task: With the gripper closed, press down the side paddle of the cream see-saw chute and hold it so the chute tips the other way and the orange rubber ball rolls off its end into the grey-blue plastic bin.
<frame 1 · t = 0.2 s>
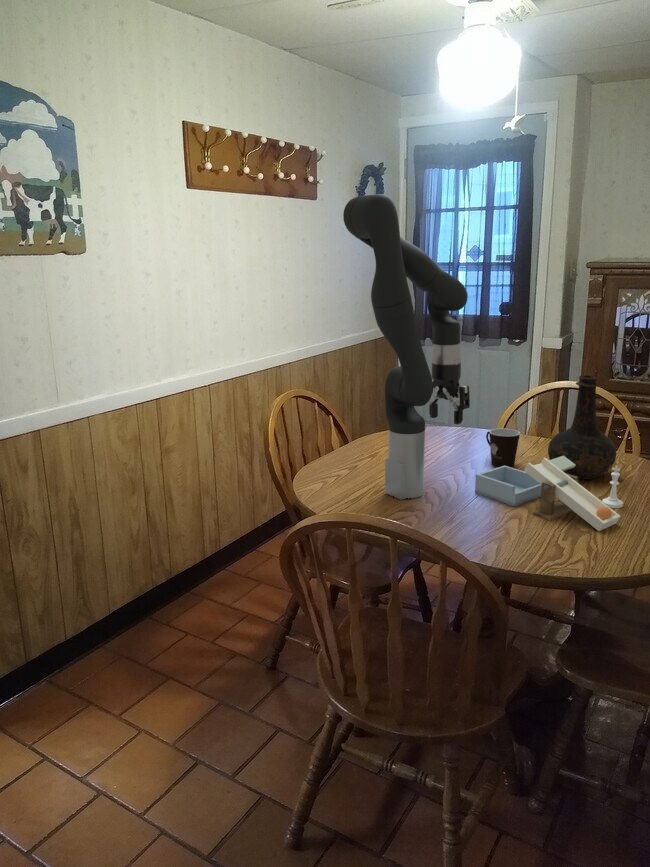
hand: (445, 420, 177), 17 cm above the table, tool pointing down, fingers open, 8 cm apart
stand: (557, 510, 161), on the table
lever: (581, 488, 160), point 6 cm above the table, hinge at -23.0°, touching ball
coffee mug: (501, 464, 197), on the table
ball: (603, 513, 151), point 3 cm above the table, tilted 9°, touching lever
glass bottle: (579, 474, 186), on the table
chess piece: (612, 505, 164), on the table
bin: (508, 494, 172), on the table
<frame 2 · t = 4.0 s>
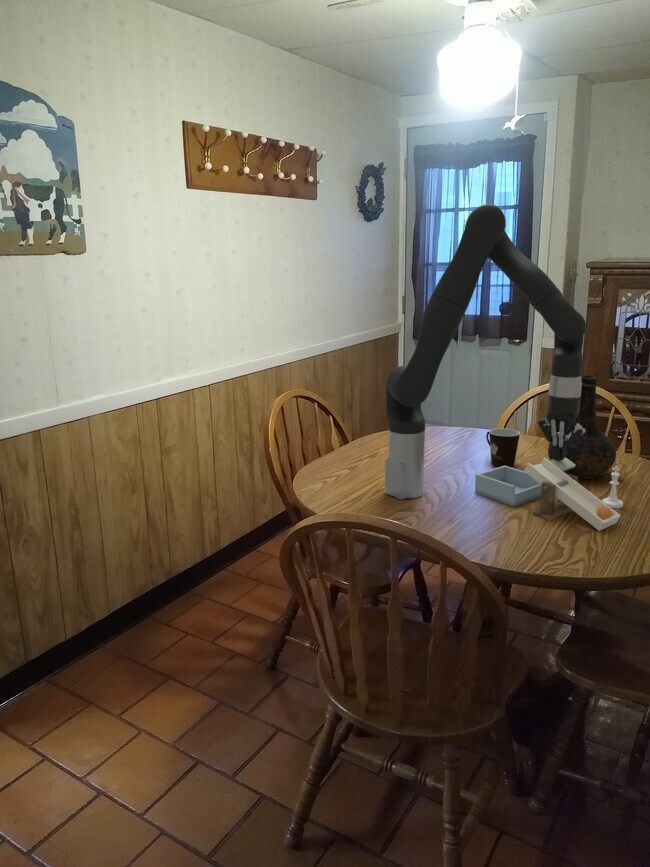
hand: (559, 459, 169), 9 cm above the table, tool pointing down, fingers closed
lever: (581, 488, 160), point 6 cm above the table, hinge at -22.6°, touching ball, gripper
everything else where it was.
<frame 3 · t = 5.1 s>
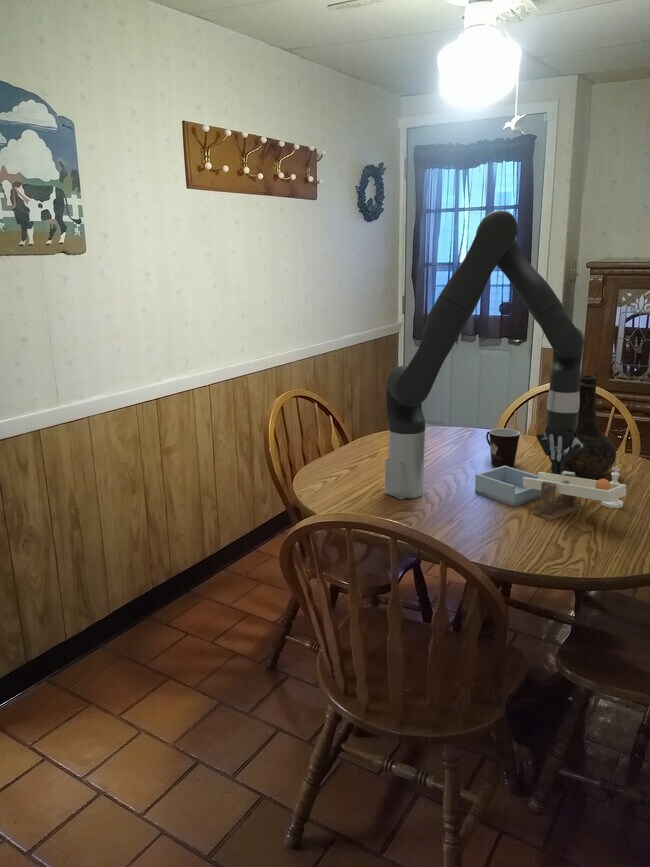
hand: (557, 473, 170), 6 cm above the table, tool pointing down, fingers closed
lever: (583, 481, 159), point 7 cm above the table, hinge at 7.3°, touching ball, gripper
ball: (602, 485, 150), point 9 cm above the table, tilted 67°, touching lever
everything else where it was.
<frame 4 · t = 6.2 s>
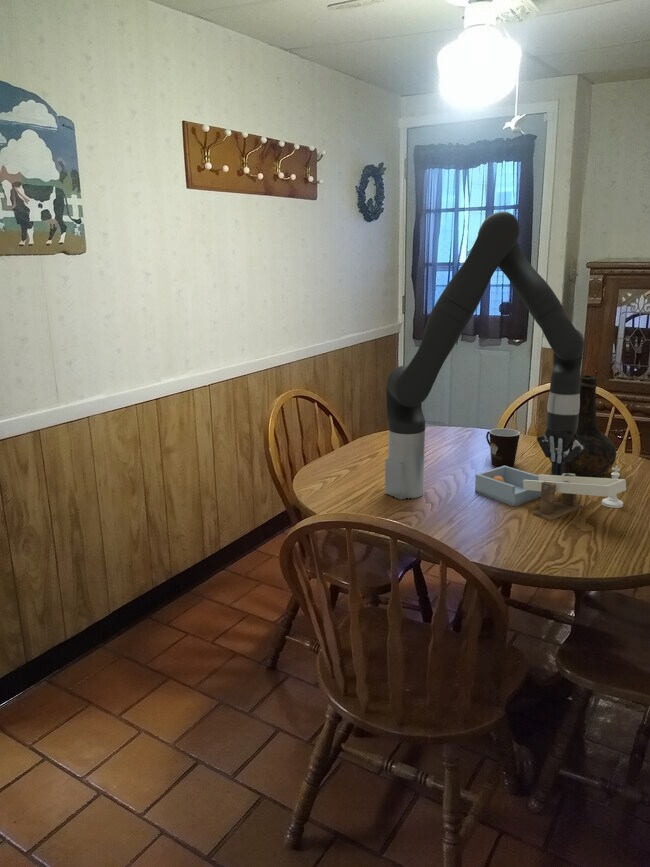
hand: (557, 475, 170), 5 cm above the table, tool pointing down, fingers closed
lever: (583, 480, 159), point 8 cm above the table, hinge at 12.1°, touching gripper
ball: (498, 481, 174), point 2 cm above the table, tilted 98°, touching bin
everything else where it was.
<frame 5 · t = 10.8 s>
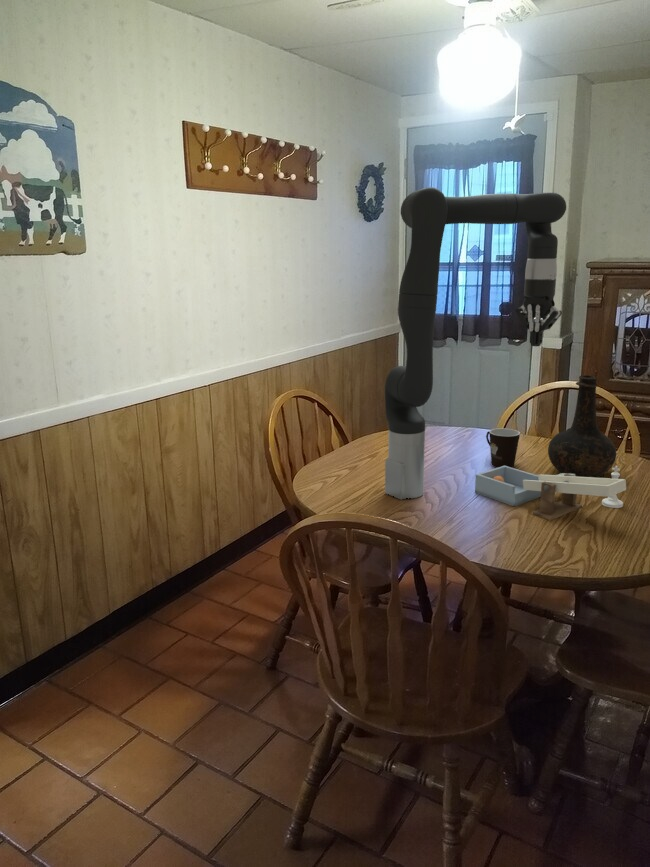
hand: (535, 345, 172), 37 cm above the table, tool pointing down, fingers closed
lever: (583, 480, 159), point 8 cm above the table, hinge at 12.1°
everything else where it was.
at the end: ball inside the target area on the bin (3.6 cm from its centre), point 2.4 cm above the bin's base; ball moved 29.7 cm from its start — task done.
